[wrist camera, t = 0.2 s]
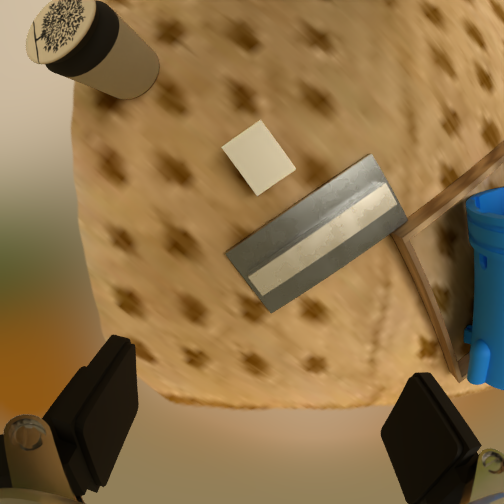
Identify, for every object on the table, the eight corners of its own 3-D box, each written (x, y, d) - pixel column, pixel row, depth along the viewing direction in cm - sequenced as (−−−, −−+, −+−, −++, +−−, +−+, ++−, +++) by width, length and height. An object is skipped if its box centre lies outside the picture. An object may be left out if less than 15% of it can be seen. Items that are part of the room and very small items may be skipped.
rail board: (368, 154, 35) (377, 153, 32) (404, 218, 37) (415, 223, 34) (226, 251, 39) (223, 258, 36) (270, 309, 41) (271, 320, 38)
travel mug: (155, 38, 31) (96, -28, 14) (164, 88, 33) (98, 38, 16) (103, 59, 32) (25, 14, 15) (109, 108, 34) (22, 82, 17)
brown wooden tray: (505, 139, 33) (521, 139, 29) (540, 284, 40) (552, 291, 36) (389, 231, 38) (402, 238, 34) (449, 370, 45) (459, 383, 41)
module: (260, 126, 35) (260, 119, 30) (290, 168, 36) (296, 169, 31) (226, 150, 36) (221, 147, 30) (256, 192, 37) (256, 196, 32)
